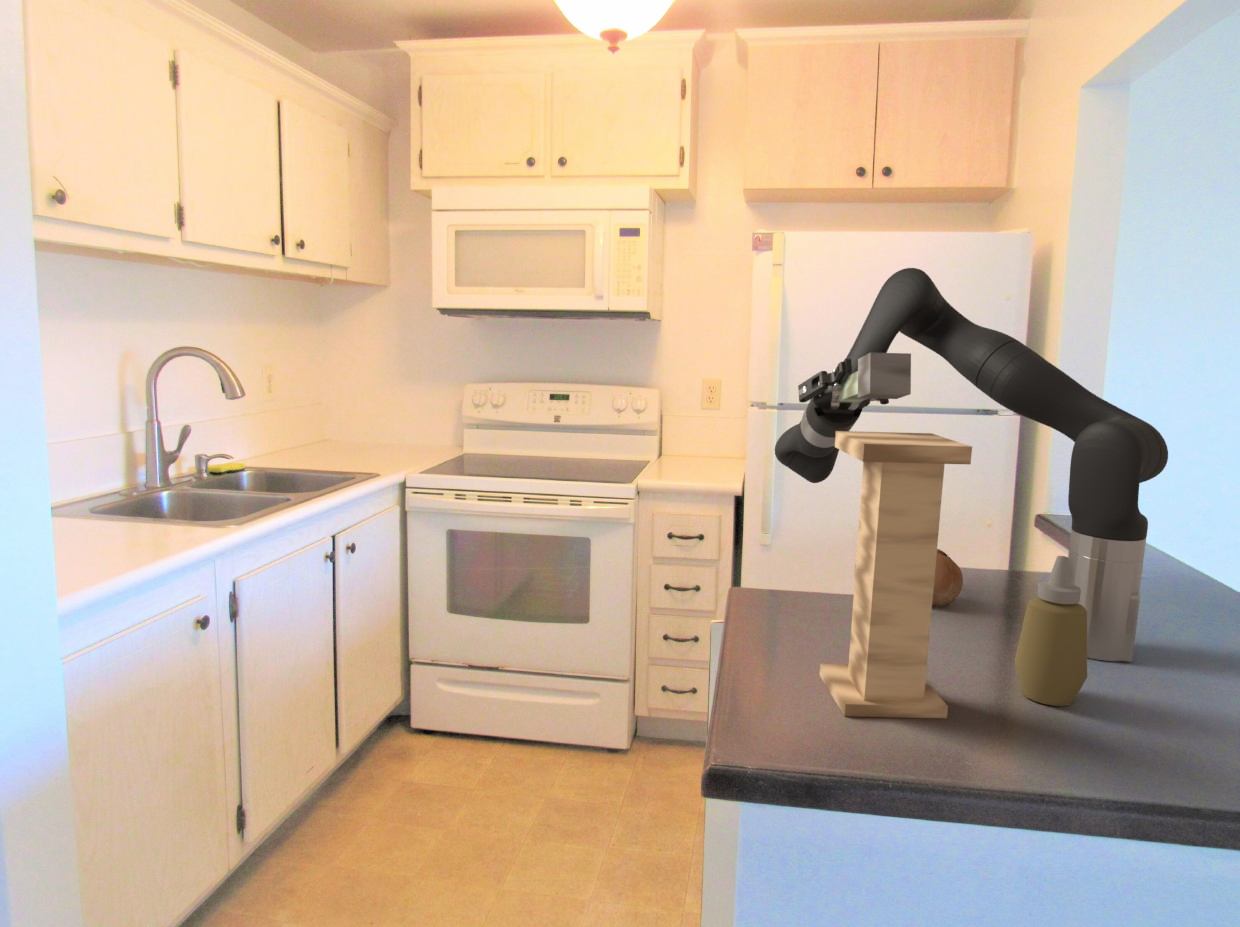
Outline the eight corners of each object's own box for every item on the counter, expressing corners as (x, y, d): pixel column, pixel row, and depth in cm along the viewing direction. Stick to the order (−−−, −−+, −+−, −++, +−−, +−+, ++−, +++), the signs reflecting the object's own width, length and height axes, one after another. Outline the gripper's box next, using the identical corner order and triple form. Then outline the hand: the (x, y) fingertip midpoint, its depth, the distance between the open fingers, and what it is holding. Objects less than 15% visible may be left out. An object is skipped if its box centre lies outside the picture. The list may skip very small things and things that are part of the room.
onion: (929, 613, 145) (941, 558, 147) (969, 616, 136) (981, 557, 138) (885, 597, 142) (897, 540, 144) (923, 599, 133) (935, 538, 136)
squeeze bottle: (1081, 717, 99) (1099, 570, 97) (1006, 700, 104) (1021, 558, 101) (1085, 693, 106) (1102, 555, 103) (1015, 678, 110) (1030, 545, 108)
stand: (819, 674, 110) (835, 430, 105) (910, 676, 110) (931, 433, 105) (844, 716, 98) (864, 443, 93) (946, 718, 98) (972, 446, 93)
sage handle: (829, 408, 121) (830, 374, 122) (864, 409, 122) (864, 375, 122) (869, 393, 103) (870, 352, 103) (910, 394, 103) (911, 353, 103)
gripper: (783, 393, 132) (809, 338, 116) (872, 395, 132) (910, 341, 116) (785, 437, 129) (812, 388, 113) (876, 439, 130) (916, 390, 113)
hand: (862, 364), depth 115 cm, fingers closed on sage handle, 3 cm apart
